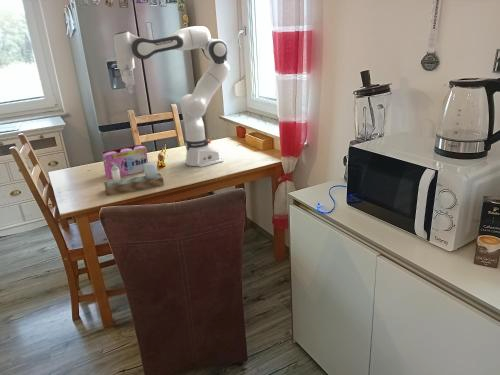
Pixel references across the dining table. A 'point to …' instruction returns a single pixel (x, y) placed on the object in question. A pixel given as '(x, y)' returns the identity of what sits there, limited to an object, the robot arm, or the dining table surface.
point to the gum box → (125, 160)
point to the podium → (132, 184)
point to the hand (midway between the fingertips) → (129, 92)
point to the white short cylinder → (150, 170)
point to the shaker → (116, 175)
